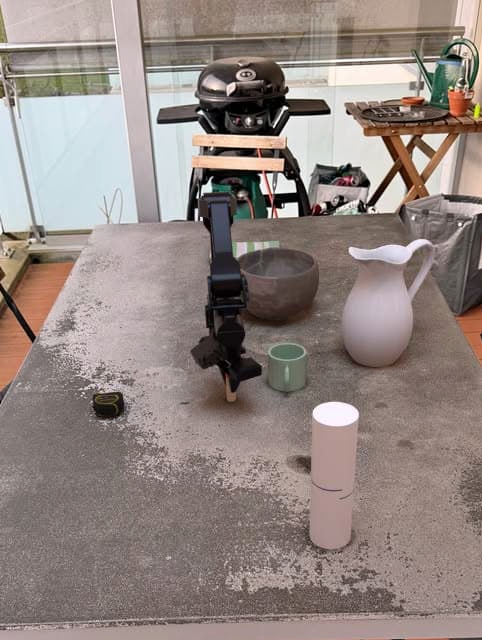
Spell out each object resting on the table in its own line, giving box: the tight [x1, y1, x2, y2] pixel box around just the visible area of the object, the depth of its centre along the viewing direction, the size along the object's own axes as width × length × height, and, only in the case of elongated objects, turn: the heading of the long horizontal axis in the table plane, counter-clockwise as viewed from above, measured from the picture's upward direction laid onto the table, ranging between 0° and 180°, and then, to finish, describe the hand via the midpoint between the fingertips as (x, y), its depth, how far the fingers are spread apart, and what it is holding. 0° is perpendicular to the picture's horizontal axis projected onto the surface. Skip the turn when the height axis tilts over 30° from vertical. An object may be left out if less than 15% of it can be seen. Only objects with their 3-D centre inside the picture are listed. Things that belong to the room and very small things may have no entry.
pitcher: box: [341, 238, 436, 368], centre depth 175 cm, size 24×17×28 cm
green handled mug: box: [267, 342, 307, 393], centre depth 169 cm, size 12×9×8 cm
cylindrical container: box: [308, 401, 360, 550], centre depth 121 cm, size 7×7×25 cm
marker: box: [225, 367, 237, 403], centre depth 164 cm, size 2×2×8 cm
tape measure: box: [92, 391, 125, 417], centre depth 163 cm, size 7×7×4 cm
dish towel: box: [208, 240, 280, 265], centre depth 243 cm, size 18×23×3 cm
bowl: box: [236, 246, 320, 321], centre depth 201 cm, size 24×24×15 cm
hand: (231, 390), depth 165 cm, fingers closed on marker, 2 cm apart
